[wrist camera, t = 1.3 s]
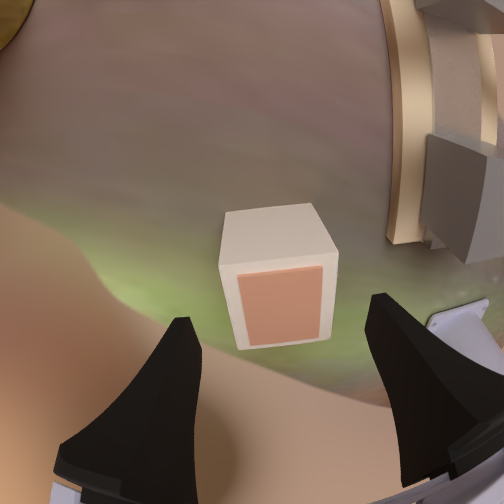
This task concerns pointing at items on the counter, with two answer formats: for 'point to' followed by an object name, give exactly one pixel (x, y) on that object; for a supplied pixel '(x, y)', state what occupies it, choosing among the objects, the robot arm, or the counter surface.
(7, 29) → the vase
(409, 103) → the board
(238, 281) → the block
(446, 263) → the counter surface
